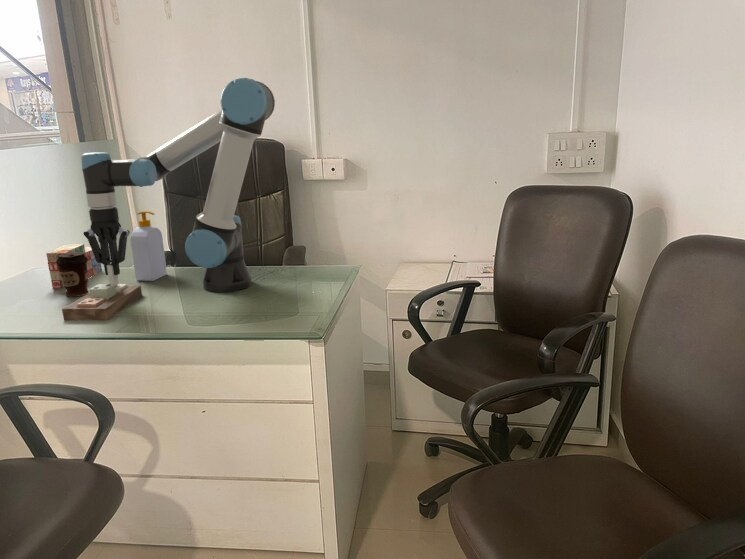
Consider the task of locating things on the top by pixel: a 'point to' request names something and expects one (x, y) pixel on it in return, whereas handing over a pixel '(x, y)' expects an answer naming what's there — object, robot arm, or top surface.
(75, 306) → the brown flat block
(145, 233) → the soap bottle
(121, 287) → the tile one
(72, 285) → the coffee cup
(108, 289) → the tile two
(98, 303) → the tile three
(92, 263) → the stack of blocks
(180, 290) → the top surface
